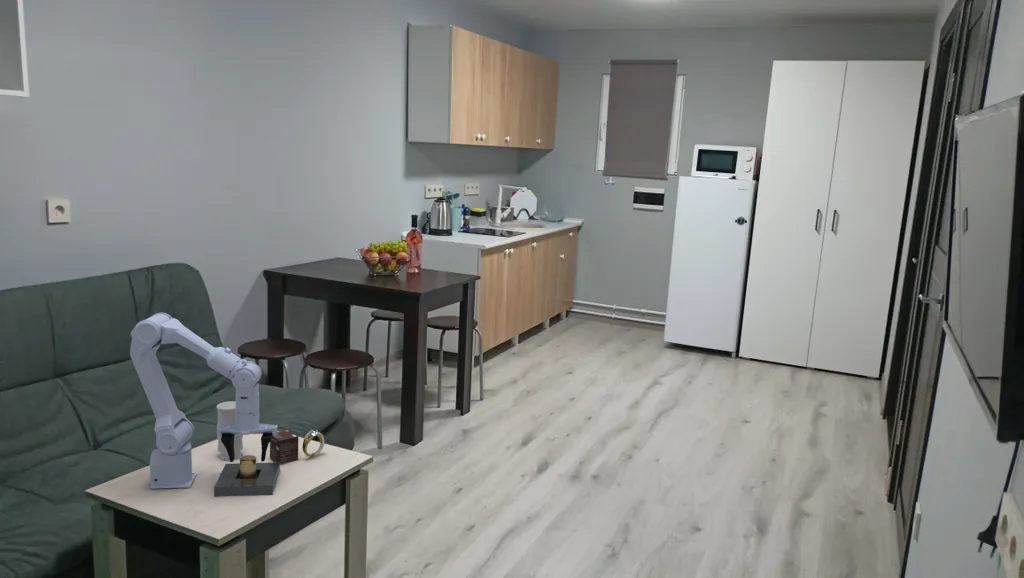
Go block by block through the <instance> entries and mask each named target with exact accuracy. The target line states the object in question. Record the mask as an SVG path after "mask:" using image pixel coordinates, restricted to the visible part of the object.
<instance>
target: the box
mask: <svg viewBox="0 0 1024 578" xmlns="http://www.w3.org/2000/svg"><path fill="white" fill-rule="evenodd" d="M299 437H300V436H299V435H298V434H296V433H295V432H294V431H292V430H290V429H284V430H282V431H281V430H280V431H277V434H276V435H273V436H272V438H271V440H270V442H269V458H270V460H272V461H273V463H274V462H280V465H283V464H287V463H291V462H296V461H298V460H299Z"/></svg>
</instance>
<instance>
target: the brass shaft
mask: <svg viewBox="0 0 1024 578" xmlns="http://www.w3.org/2000/svg"><path fill="white" fill-rule="evenodd" d="M239 463H240V479H257V478H256V463H257V456H255V455H252V454H251V455H244V456H241V457H239Z"/></svg>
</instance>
